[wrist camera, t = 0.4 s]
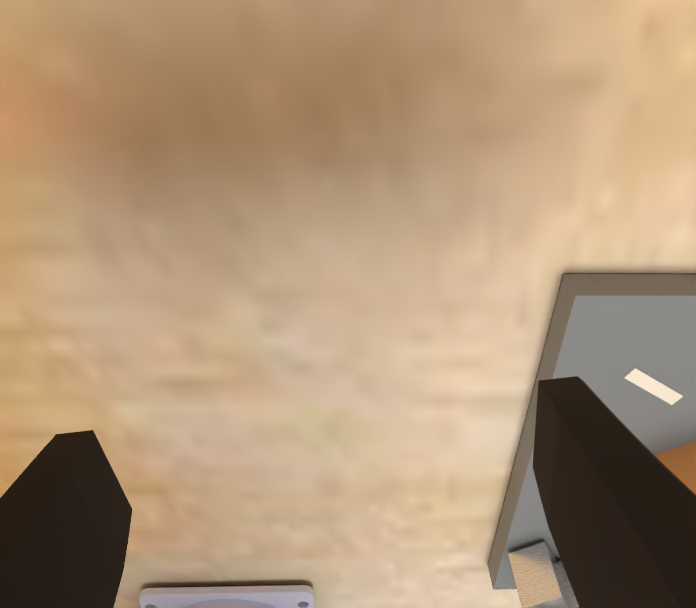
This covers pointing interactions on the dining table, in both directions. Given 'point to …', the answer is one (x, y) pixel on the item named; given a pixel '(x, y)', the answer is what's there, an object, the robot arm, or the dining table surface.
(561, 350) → the crank board
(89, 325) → the dining table surface
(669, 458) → the block
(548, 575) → the crank
